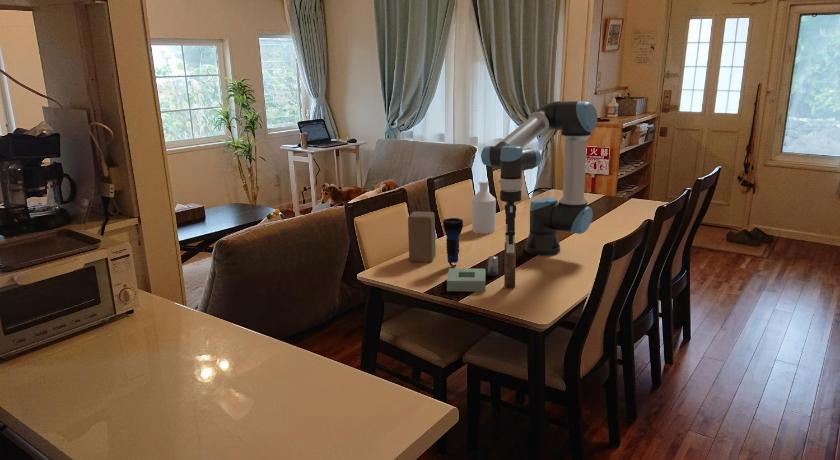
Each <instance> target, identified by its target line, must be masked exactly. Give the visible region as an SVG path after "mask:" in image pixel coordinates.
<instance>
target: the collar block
mask: <svg viewBox="0 0 840 460" xmlns="http://www.w3.org/2000/svg"><path fill="white" fill-rule="evenodd" d="M446 277H447V278H446V292H484V293H485V292H486V268H456V267H451V268H450V267H449V268H448V272H447V276H446Z"/></svg>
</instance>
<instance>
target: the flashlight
mask: <svg viewBox="0 0 840 460" xmlns="http://www.w3.org/2000/svg"><path fill="white" fill-rule="evenodd" d="M442 225H443V226H442V227H443V230H444V233H445V236H446V239H445V241H446V243H445V245H446V254H447V263H449V265H450V266H451V268H456V267H457V263H458V261H459V253H460V239H459V237H460V235H461V233H462V230H463V228H464V220H463V219H462V218H459V217H448V218H445V219H443V221H442Z"/></svg>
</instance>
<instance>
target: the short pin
mask: <svg viewBox="0 0 840 460" xmlns="http://www.w3.org/2000/svg"><path fill="white" fill-rule="evenodd" d="M498 275H499V257H498V256H497V255H489V256H487V276H491V277H495V276H498Z"/></svg>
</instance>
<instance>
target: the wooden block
mask: <svg viewBox="0 0 840 460" xmlns="http://www.w3.org/2000/svg"><path fill="white" fill-rule="evenodd" d="M435 218H436V214H435V212H434V211H412V212H411V213H410V214H409V216H408V217H407V228H408V229H407V230H408V231H407V233H408V234H407V235H408V236H407V237H408V255H409V256H408V258H409V259H408V260H409V261H410V262H412V263H413V262H415V263H418V262H419V263H432V262H433V260H434V258H435V257H436V256H437V254H436V250H437V249H436V219H435Z"/></svg>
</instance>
